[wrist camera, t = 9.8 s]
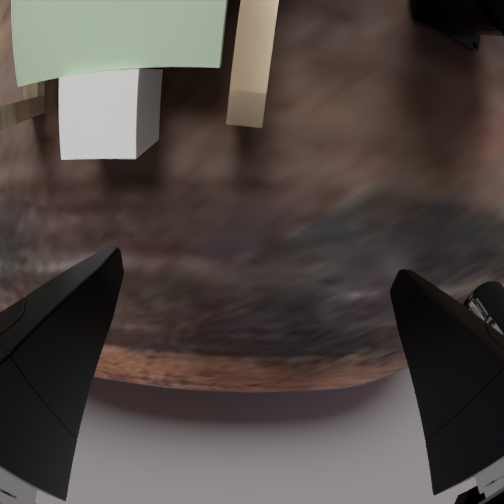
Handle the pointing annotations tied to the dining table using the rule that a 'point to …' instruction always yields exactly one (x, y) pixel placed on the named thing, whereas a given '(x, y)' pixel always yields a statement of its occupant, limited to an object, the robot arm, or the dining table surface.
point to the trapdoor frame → (242, 77)
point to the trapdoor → (114, 36)
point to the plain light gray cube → (109, 113)
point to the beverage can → (488, 304)
